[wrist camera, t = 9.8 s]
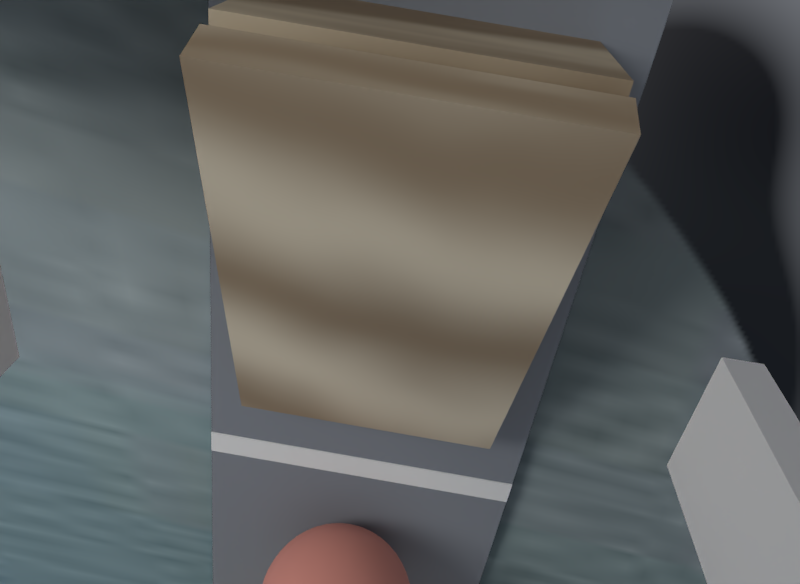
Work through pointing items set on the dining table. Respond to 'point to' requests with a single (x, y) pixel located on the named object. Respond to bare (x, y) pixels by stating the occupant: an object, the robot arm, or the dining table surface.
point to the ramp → (397, 202)
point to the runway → (382, 450)
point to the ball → (337, 558)
